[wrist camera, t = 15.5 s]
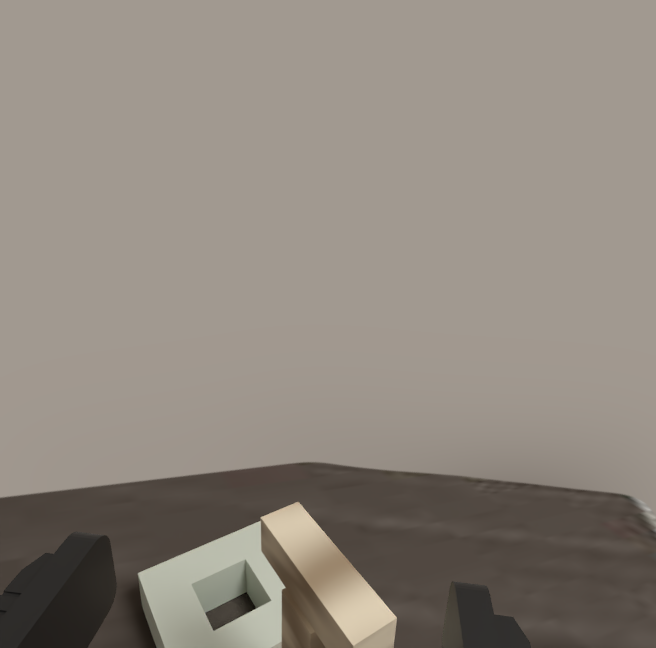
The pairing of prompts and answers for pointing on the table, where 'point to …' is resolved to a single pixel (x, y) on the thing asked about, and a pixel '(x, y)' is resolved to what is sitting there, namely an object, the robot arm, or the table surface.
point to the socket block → (214, 595)
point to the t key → (321, 588)
